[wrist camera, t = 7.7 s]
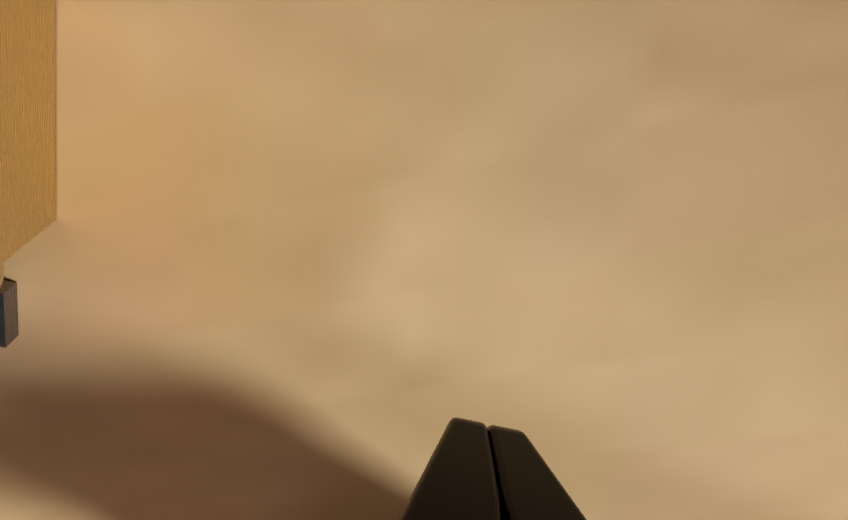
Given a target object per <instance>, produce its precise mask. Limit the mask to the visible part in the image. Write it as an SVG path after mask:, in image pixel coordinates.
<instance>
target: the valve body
mask: <svg viewBox="0 0 848 520" xmlns="http://www.w3.org/2000/svg"><path fill="white" fill-rule="evenodd" d="M55 220H56V46H55V0H0V346H1V347H5V348H6V347H7V346H8V345H9V344H10V343H11V342H12V341H13V340H14V339H15V338H16V337H17V336H18V312H17V282H12V281H8V280H3V279H4V261H5V260H7V259H8V258H9V257H10V256H12V255H13V254H14V253H15V252H17V251H18V250H19V249H20V248H21V247H23V246H24V245H25V244H26V243H28V242H29V241H30V240H31V239H33V238H34V237H35V236H36V235H38V234H39V233H40V232H41V231H43V230H44V229H45V228H46V227H47V226H49V225H50V224H51V223H52V222H54V221H55Z"/></svg>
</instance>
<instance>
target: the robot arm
mask: <svg viewBox="0 0 848 520" xmlns="http://www.w3.org/2000/svg"><path fill="white" fill-rule="evenodd" d="M399 520H586V518H585V517H584V515H583V514H582V513H581V511H580V510H579V509H578V507H577V506H576V504H575V503H574V502H573V500H572V499H571V497H570V496H569V495H568V493H567V492H566V490H565V489H564V488H563V486H562V485H561V483H560V482H559V481H558V479H557V478H556V476H555V475H554V474H553V472H552V471H551V469H550V468H549V467H548V465H547V464H546V463H545V461H544V460H543V458H542V457H541V456H540V454H539V453H538V451H537V450H536V449H535V447H534V446H533V444H532V443H531V442H530V440H529V439H528V437H527V436H526V435H525V434H524V433H523V432H521V431H519V430H515V429H510V428H505V427H500V426H495V425H491V426H489V427H486V426H485V425H484V424H483V423H481V422H476V421H471V420H467V419H462V418H453V419H451V420H450V422H449V424H448V425H447V427H446V429H445V431H444V433H443V435H442V437H441V439H440V441H439V443H438V445H437V447H436V449H435V451H434V453H433V455H432V456H431V458H430V460H429V462H428V464H427V466H426V468H425V470H424V472H423V474H422V476H421V478H420V480H419V482H418V484H417V486H416V487H415V489H414V491H413V493H412V495H411V497H410V499H409V501H408V503H407V505H406V507H405V509H404V511H403V513H402V515H401V517H400V518H399Z"/></svg>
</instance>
